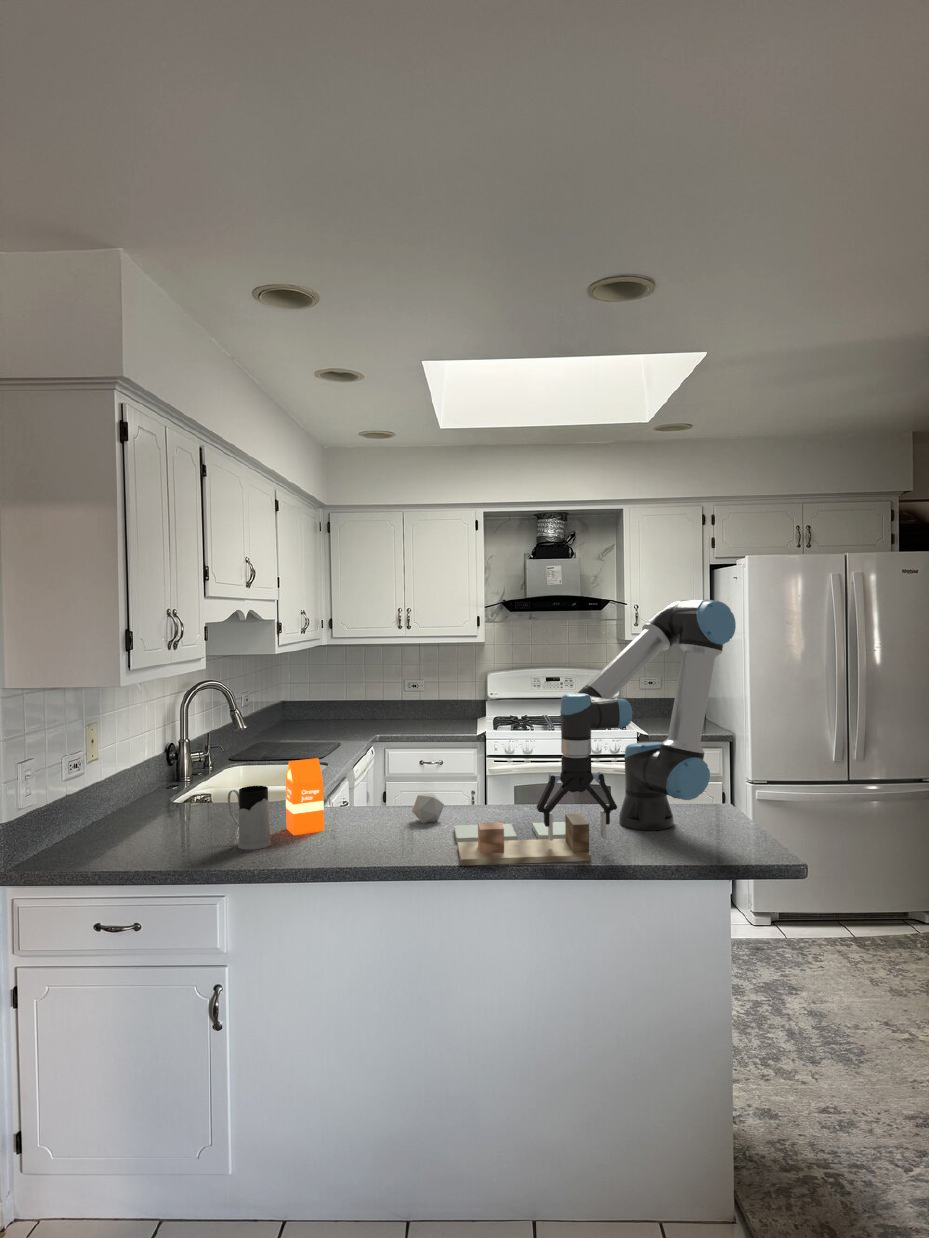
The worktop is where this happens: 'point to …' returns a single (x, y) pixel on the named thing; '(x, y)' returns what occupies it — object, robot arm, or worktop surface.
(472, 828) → the broken strip
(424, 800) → the grey block
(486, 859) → the wooden board with blocks
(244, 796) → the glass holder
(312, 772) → the orange juice
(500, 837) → the cube
